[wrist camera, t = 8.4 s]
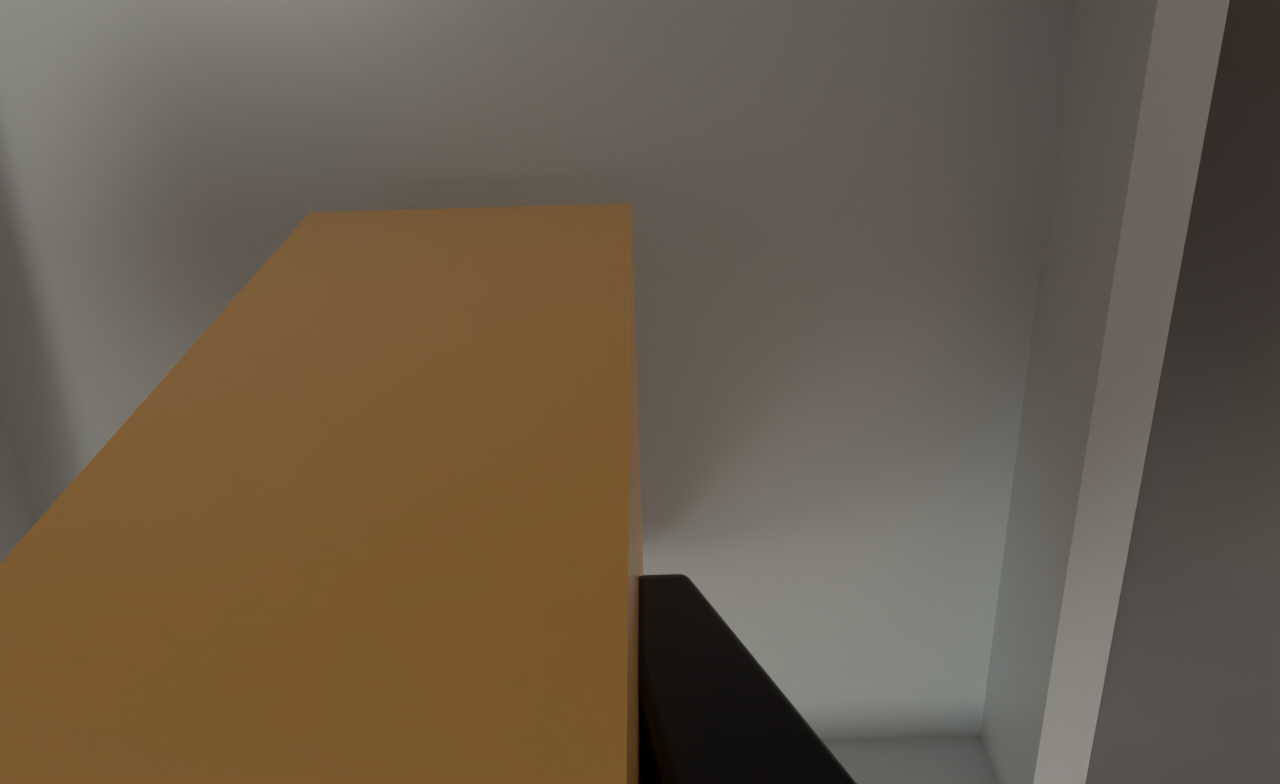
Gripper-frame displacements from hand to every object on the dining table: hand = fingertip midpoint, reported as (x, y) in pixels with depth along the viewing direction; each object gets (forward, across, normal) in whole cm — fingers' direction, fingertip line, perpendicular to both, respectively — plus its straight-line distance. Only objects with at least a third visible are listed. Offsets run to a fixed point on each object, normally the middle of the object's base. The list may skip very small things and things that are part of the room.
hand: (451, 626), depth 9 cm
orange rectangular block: (+3, 0, 0) cm, 3 cm away
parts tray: (+5, 0, 0) cm, 5 cm away
